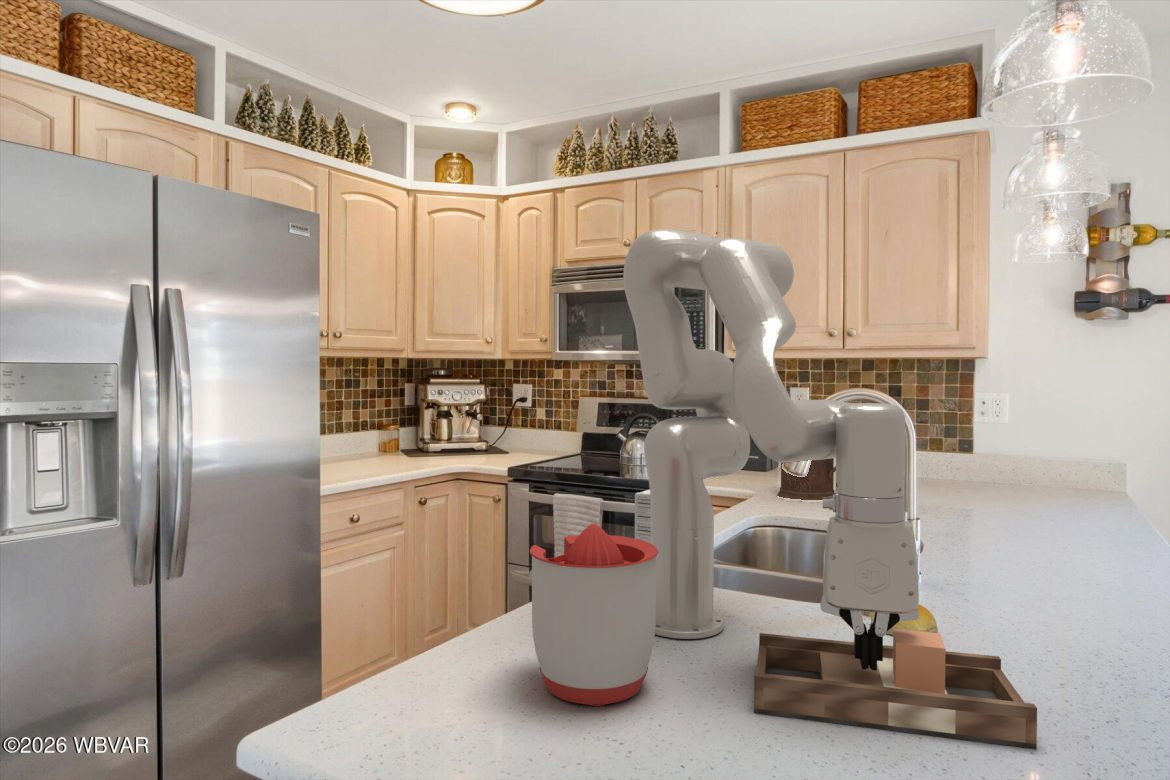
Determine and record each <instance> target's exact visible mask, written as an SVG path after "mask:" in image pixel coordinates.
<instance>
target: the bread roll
mask: <svg viewBox="0 0 1170 780" xmlns="http://www.w3.org/2000/svg"><path fill="white" fill-rule="evenodd" d="M918 612H919V618H918V619H917V620H911V621H904V622H902V621H901V622H898V623H897V624H896V625H894V626H893V627H892V628H891V629H889V630H888V631H887V632H886V635H890V636H893V628H896V629H905V630H914V631H922V632H931V633H938V629H939V628H938V625H937V621H936V620H937V619H936V618H935V616H934V615H933V614H932V612H931V611H930V609H928V608H927V607H925V606H924V605H921V604H919V603H918ZM873 617H874V612H871V614H870V622H871V623H870V624H872V623H873Z"/></svg>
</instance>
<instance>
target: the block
mask: <svg viewBox="0 0 1170 780" xmlns="http://www.w3.org/2000/svg"><path fill="white" fill-rule="evenodd" d="M892 646H893V674H894V681H895V687H898V688H906V689H913V690H920V691H927V692H934V693H943V694H945V651H946V645H945V643H944V641H943V638H942V636H941V633H940V632H937V633H931V632H922V631H914V630H905V629H896V628H893V635H892Z"/></svg>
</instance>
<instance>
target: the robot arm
mask: <svg viewBox="0 0 1170 780" xmlns="http://www.w3.org/2000/svg"><path fill="white" fill-rule="evenodd" d="M791 259H792V258H790V256H789V254H788V253H787V252H786V251H785V250H784V249H782V248H781V247H780V246H778V245H776V244H774V243H769V242H763V241H756V240H753V239H747V238H740V237H727V238H726V237H721V236H720V237H719V236H713V235H709V234H708V235H707V234H702V233H695V232H691V231H684V230H678V229H671V228H656V229H651V230H647V231H646V232H644V233H642V234H640V235H638V237H636V239H634V241H633V242H632V243H631V245H630V246H629V249H628V251H627V254H626V257H625V261H624V264H623V277H622V278H623V287H624V293H625V297H626V301H627V304H628V307H629V310H630V313H631V317H632V319H633V324H634V328H635V333H636V342H637V347H638V348H637V349H638V354H639V355H638V356H639V360H640V368H641V374H642V381H643V386H644V389H645V394H646V397H647V399H648V401H649V402H650V403H651V404H652V405H653V406H654V407H656V408H658V409H661V410H672V411H673V410H695V411H696V412H695V413H696V416H685V417H684V416H681V417H679V416H678V417H677V416H676V417H671V418H667V419H664V420H661V421H659V422H657V423H656V424H654V425H653V426H652V427H651V429H649V430H648V432H647V434H646V436H645V439H644V444H643V452H644V453H643V454H644V462H645V466H646V471H647V472H646V473H647V477H648V487H649V489H650V503H651V544H653V545H654V546H655V547H656V548H657V550H658V554H657V556H656V624H655V636H661V637H665V638H670V639H679V640H696V639H705V638H709V637H713V636H715V635H718V634H720V633H721V632H722V631H723V630H724V628H725V620H724V618H723V616H722V615H721V614H720V613H718V612H717V611H714V587H715V586H714V579H715V578H714V577H715V576H714V573H715V572H714V571H715V570H714V567H715V566H714V565H715V563H714V560H715V559H714V558H715V557H714V556H715V554H714V553H715V552H714V549H715V546H714V543H715V531H714V530H715V520H714V519H715V518H714V517H715V515H714V512H715V511H714V506H713V505H714V504H713V502H712V499H711V496H710V494H709V491H708V489H707V487H706V485H705V483H704V480H705V479H708V478H709V479H710V478H716V477H719V478H720V477H727V476H730V475H734V474H736V473H737V472H738V473H739V472H740V471H741V470H742V469H743V468H744V467H745V466H746V464H747V463H748V461H749V458H750V452H751V439H752V442H754V444H755V445H756V447H757V448H758V449H759V451H761V453H763V454H764V455H765V456H766V457H767V458H769V459H770V460H772V461H775V462H778V463H781V462H783V463H790V462H800V461H808V460H823V459H832V458H834V459H835V466H836V471H835V490H834V491H835V495H833V497H832V496H829V497H823V503H822V509H827V510H829V511H832V513H834V516H831V517H830V518H829V521H828V523H827V528H826V535H825V543H824V551H823V565H822V586H823V587H822V589H823V593H822V597H821V599H820V600H821V601H820V603H819V605H820V610H821V611H822V612H824V613H825V614H830V615H833V616H835V617H839V618H841V620H843V621H844V622H845V623H846V624H847V625H848V626H849V627H850V628H851V630H853V632H854V634H853V635H854V639H853V642H854V656H855V659H860V663H861V667H862V669H865V670H867V669H869V667H870V669H872V670H875V671H877V661H883V645H884V637H885V636H886V635H887V634H886V632H887V631H888V630H889V629H891V628H892V627H893V626H894V625H896V624H897V623H898V622H901V621H902V622H904V621H911V620H917V619H918V618H919V612H918V604H919V602H920V601H919V599H920V597H919V596H920V591H919V590H920V589H919V587H920V586H919V570H918V569H919V568H918V567H919V566H918V565H919V563H918V555H917V544H916V538H915V533H914V528H913V524H911V523H910V522H909V521H907V520H906V519H905V515H906V513H905V512H906V511H905V505H906V504H905V502H906V500H905V499H906V498H905V493H906V492H905V489H906V415H905V412H904V410H903V409H902V408H901V407H900V406H898V405H897V404H891V403H882V402H881V403H876V402H863V403H862V402H856V403H855V402H853V403H850V402H846V401H840V400H834V399H791V397H790V394H789V392H788V390H787V389H786V387H785V386H784V384H783V383H784V382H783V381H782V379H781V377H780V376H779V372H778V369H777V367H776V360H775V352H776V351H778V349H781V347H783V346H784V345H785V344H786V343H788V342H789V340H790V339H791V338H792V337H793V336H794V334H795V332H796V328H797V324H796V320H795V318H794V316H793V313H792V312H791V310H790V309H789V307H788V305H787V302H786V301H785V299H784V298H783V297H785V295H786V294H788V292H789V291H790V289H791V287H792V284H793V281H794V278H795V275H794V267H793V266H794V265H793V262H792V260H791ZM674 288H682V289H683V288H684V289H692V290H702V291H707V292H708V295H709V297H710V299H711V301H712V302H713V305H714V308H715V309H716V311H717V312H718V315H719V316H720V319H721V321H722V323H723V324H724V327H725V328H726V332H727V333H728V336H729V337H730V339H731V341H732V343H733V346H734V347H735V356H734V360H733V361H732V360H731V359H730V358H729V356H727V355H726V354H724V353H723V352H720V351H719V350H714V349H701V348H697V347H696V346H695V342H694V340H693V335H692V329H691V322H690V319H689V315H688V314H687V311H686V309H685V307H684V306H683V304H682V302H681V301H680V299H679V298H678V297H677V296H676V293H674V291H673V290H674ZM862 612H871V613H872V612H874V617H873V623H870V625H869V626H870V627H869V628H868V629H867V626H866V623H864V619H863V613H862Z"/></svg>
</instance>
